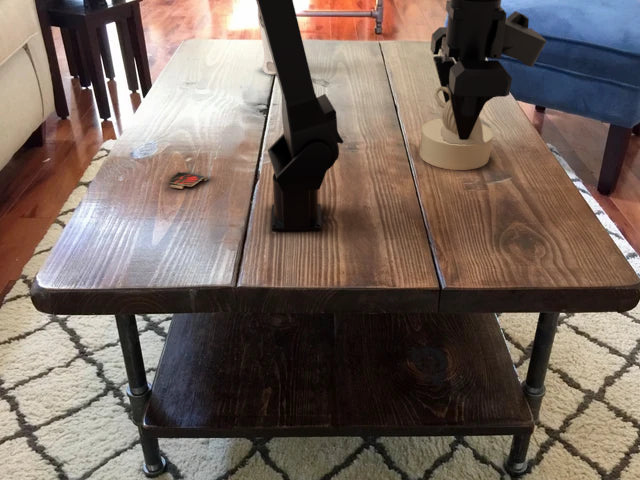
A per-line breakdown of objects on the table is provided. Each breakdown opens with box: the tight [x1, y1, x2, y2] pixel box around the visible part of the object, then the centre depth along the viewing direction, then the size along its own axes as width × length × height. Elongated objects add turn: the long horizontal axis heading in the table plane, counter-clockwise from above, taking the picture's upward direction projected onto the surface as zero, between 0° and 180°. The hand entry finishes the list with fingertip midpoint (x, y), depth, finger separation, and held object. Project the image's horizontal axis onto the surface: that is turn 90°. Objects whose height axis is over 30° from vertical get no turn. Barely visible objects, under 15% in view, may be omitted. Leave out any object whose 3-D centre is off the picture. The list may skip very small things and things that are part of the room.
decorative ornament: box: [433, 86, 486, 146], centre depth 81 cm, size 4×8×5 cm, turn 22°
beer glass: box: [257, 8, 277, 76], centre depth 130 cm, size 7×7×15 cm
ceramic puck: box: [418, 118, 494, 171], centre depth 101 cm, size 11×11×4 cm
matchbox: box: [168, 171, 209, 190], centre depth 93 cm, size 5×5×1 cm
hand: (458, 128), depth 82 cm, fingers closed on decorative ornament, 7 cm apart
